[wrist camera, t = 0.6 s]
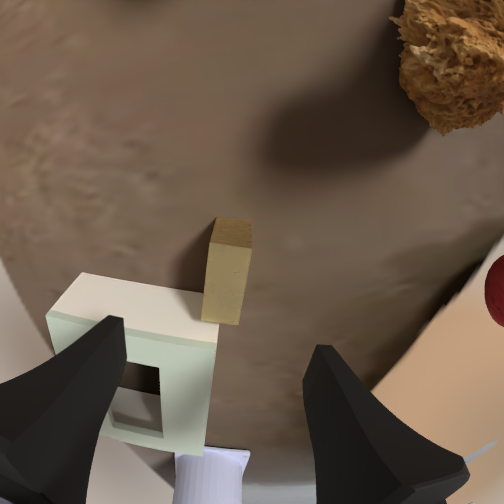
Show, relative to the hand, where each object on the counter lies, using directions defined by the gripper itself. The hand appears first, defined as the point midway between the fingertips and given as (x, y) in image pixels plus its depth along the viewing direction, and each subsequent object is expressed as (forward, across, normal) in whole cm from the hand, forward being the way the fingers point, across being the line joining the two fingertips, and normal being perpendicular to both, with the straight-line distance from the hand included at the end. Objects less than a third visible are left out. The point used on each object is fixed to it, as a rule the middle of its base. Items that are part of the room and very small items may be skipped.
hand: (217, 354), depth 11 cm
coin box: (+9, +5, +9) cm, 14 cm away
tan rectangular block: (+9, 0, 0) cm, 9 cm away
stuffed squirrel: (+9, -11, -16) cm, 22 cm away
